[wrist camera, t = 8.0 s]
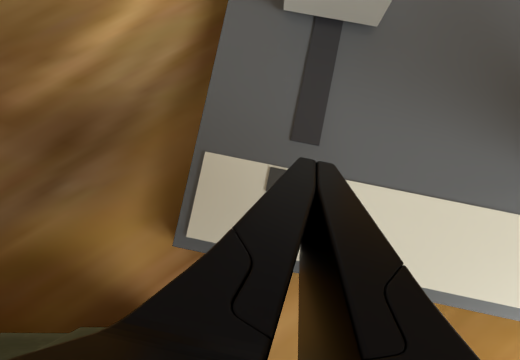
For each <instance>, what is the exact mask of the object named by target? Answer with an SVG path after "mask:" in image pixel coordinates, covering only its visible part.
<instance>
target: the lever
mask: <svg viewBox="0 0 520 360" xmlns="http://www.w3.org/2000/svg"><path fill="white" fill-rule="evenodd" d="M391 1H392V0H284V10H286V11H292V12H297V13H303V14H309V15H314V16H320V17H325V18H331V19H337V20H342V21H348V22H353V23H359V24H365V25H370V26H376V27H377V26H378V24H379V23H380V21H381V19H382V17H383V16H384V14H385V12H386V10H387V8H388V7H389V5H390V3H391Z"/></svg>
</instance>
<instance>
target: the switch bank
mask: <svg viewBox="0 0 520 360" xmlns="http://www.w3.org/2000/svg"><path fill="white" fill-rule="evenodd" d="M300 157H303V158H308V159H313V160H315V161H316V163H317V161H323V162H328V163H333V164H334V165H335V166H336V167H337V169H338V170H339V172H340V173H341V174H342V176H343V177H344V179H345V180H346V182H347V183H348V184H349V186H350V187H351V189H352V190H353V191H354V193H355V194H356V196H357V197H358V199H359V200H360V201H361V203H362V204H363V206H364V207H365V209H366V210H367V211H368V213H369V214H370V216H371V217H372V219H373V220H374V221H375V223H376V224H377V226H378V227H379V229H380V230H381V231H382V233H383V234H384V236H385V237H386V238H387V240H388V241H389V243H390V244H391V246H392V247H393V248H394V250H395V251H396V253H397V254H398V256H399V257H400V258H401V260H402V261H403V263H404V264H403V265H405V266H406V267H407V268H408V270H409V271H410V272H411V274H412V275H413V277H414V278H415V280H416V281H417V282H418V284H419V285H420V286H421V288H422V289H423V290H424V292H425V293H426V294H427V296H428V297H429V298H430V300H431V301H432V302H434V303H438V304H443V305H447V306H452V307H457V308H461V309H466V310H471V311H475V312H480V313H484V314H489V315H494V316H498V317H503V318H508V319H512V320H517V321H520V0H392V1H391V3H390V5H389V7H388V8H387V10H386V12H385V14H384V16H383V17H382V19H381V21H380V23H379V24H378V26H377V27H376V26H370V25H365V24H359V23H353V22H348V21H342V20H337V19H331V18H325V17H320V16H314V15H309V14H303V13H297V12H292V11H286V10H284V0H228V5H227V9H226V14H225V18H224V22H223V27H222V31H221V35H220V40H219V44H218V49H217V53H216V57H215V62H214V66H213V71H212V75H211V79H210V84H209V88H208V93H207V97H206V101H205V106H204V110H203V114H202V119H201V123H200V128H199V132H198V136H197V141H196V145H195V150H194V154H193V158H192V163H191V167H190V172H189V176H188V180H187V185H186V189H185V193H184V198H183V202H182V207H181V211H180V215H179V220H178V224H177V229H176V233H175V237H174V242H173V246H175V247H179V248H184V249H188V250H193V251H198V252H202V253H207V252H208V251H209V250H210V249H211V248H212V247H213V246H214V245H215V244H216V243H217V242H218V241H219V240H220V239H221V238H222V237H223V236H224V235H225V234H226V233H227V232H228V231H229V230H230V229H232V227H233V226H234V225H235V224H236V223H237V222H238V221H239V220H240V219H241V218H242V216H243V215H244V214H245V213H246V212H247V211H248V210H249V209H250V208H251V207H252V206H253V205H254V204H255V203H256V202H257V201H258V200H259V199H260V198H261V197H262V196H263V195H264V194H265V192H266V191H267V190H268V189H269V188H270V187H271V186H272V185H273V184H274V183H275V182H276V181H277V180H278V179H279V178H280V177H281V176H282V175H283V174H284V173H285V172H286V171H287V170H288V168H289V167H290V166H291V165H292V164H293V163H294V162H295V161H296V160H297V159H298V158H300ZM299 255H300V249H299V252H298V256H297V259H296V263H295V266H294V270H293V272H295V273H299Z"/></svg>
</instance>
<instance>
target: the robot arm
mask: <svg viewBox="0 0 520 360" xmlns="http://www.w3.org/2000/svg"><path fill="white" fill-rule="evenodd" d="M299 249H300V255H299V322H298V360H480V359H479V358H478V356H477V355H476V354H475V353H474V352H473V351H472V349H471V348H470V347H469V346H468V345H467V344H466V342H465V341H464V340H463V339H462V338H461V336H460V335H459V334H458V333H457V332H456V331H455V329H454V328H453V327H452V326H451V325H450V323H449V322H448V321H447V320H446V318H445V317H444V316H443V315H442V313H441V312H440V311H439V310H438V309H437V307H436V306H435V305H434V304H433V302H432V301H431V300H430V298H429V297H428V296H427V294H426V293H425V292H424V290H423V289H422V288H421V286H420V285H419V284H418V282H417V281H416V280H415V278H414V277H413V275H412V274H411V272H410V271H409V270H408V268H407V267H406V266H405V265H403V264H404V263H403V261H402V260H401V258H400V257H399V256H398V254H397V253H396V251H395V250H394V248H393V247H392V246H391V244H390V243H389V241H388V240H387V238H386V237H385V236H384V234H383V233H382V231H381V230H380V229H379V227H378V226H377V224H376V223H375V221H374V220H373V219H372V217H371V216H370V214H369V213H368V211H367V210H366V209H365V207H364V206H363V204H362V203H361V201H360V200H359V199H358V197H357V196H356V194H355V193H354V191H353V190H352V189H351V187H350V186H349V184H348V183H347V182H346V180H345V179H344V177H343V176H342V174H341V173H340V172H339V170H338V169H337V167H336V166H335V165H334V164H333V163H328V162H323V161H317V163H316V161H315V160H313V159H308V158H303V157H300V158H298V159H297V160H296V161H295V162H294V163H293V164H292V165H291V166H290V167H289V168H288V170H287V171H286V172H285V173H284V174H283V175H282V176H281V177H280V178H279V179H278V180H277V181H276V182H275V183H274V184H273V185H272V186H271V187H270V188H269V189H268V190H267V191H266V192H265V194H264V195H263V196H262V197H261V198H260V199H259V200H258V201H257V202H256V203H255V204H254V205H253V206H252V207H251V208H250V209H249V210H248V211H247V212H246V213H245V214H244V215H243V216H242V218H241V219H240V220H239V221H238V222H237V223H236V224H235V225H234V226H233V227H232V229H230V230H229V231H228V232H227V233H226V234H225V235H224V236H223V237H222V238H221V239H220V240H219V241H218V242H217V243H216V244H215V245H214V246H213V247H212V248H211V249H210V250H209V251H208V252H207V253H206V254H204V255H203V256H202V257H201V258H200V259H198V260H197V261H196V262H195V263H194V264H192V265H191V266H190V267H189V268H188V269H186V270H185V271H184V272H183V273H181V274H180V275H179V276H178V277H176V278H175V279H174V280H172V281H171V282H170V283H169V284H167V285H166V286H165V287H164V288H162V289H161V290H160V291H158V292H157V293H156V294H155V295H153V296H152V297H151V298H150V299H148V300H147V301H146V302H144V303H143V304H142V305H141V306H139V307H138V308H137V309H135V310H134V311H133V312H131V313H130V314H129V315H127V316H126V317H124V318H123V319H121V320H120V321H118V322H116V323H114V324H113V325H111V326H109V327H107V328H105V329H103V330H100V331H98V332H95V333H92V334H89V335H86V336H83V337H79V338H76V339H73V340H69V341H66V342H63V343H60V344H56V345H53V346H50V347H47V348H43V349H40V350H37V351H33V352H30V353H27V354H24V355H20V356H17V357H14V358H11V359H7V360H267V359H268V356H269V352H270V349H271V345H272V342H273V339H274V335H275V332H276V328H277V325H278V321H279V318H280V314H281V311H282V308H283V304H284V301H285V297H286V294H287V290H288V287H289V283H290V280H291V276H292V273H293V270H294V266H295V263H296V259H297V256H298V252H299Z"/></svg>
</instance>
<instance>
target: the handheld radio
mask: <svg viewBox="0 0 520 360" xmlns="http://www.w3.org/2000/svg"><path fill="white" fill-rule="evenodd" d="M105 328H107V327H80V328H78V329H77V330H75V331H73V332H71V333H0V360H7V359H11V358H14V357H17V356H20V355H24V354H27V353H30V352H33V351H37V350H40V349H43V348H47V347H50V346H53V345H56V344H60V343H63V342H66V341H69V340H73V339H76V338H79V337H83V336H86V335H89V334H92V333H95V332H98V331H100V330H103V329H105Z"/></svg>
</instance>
